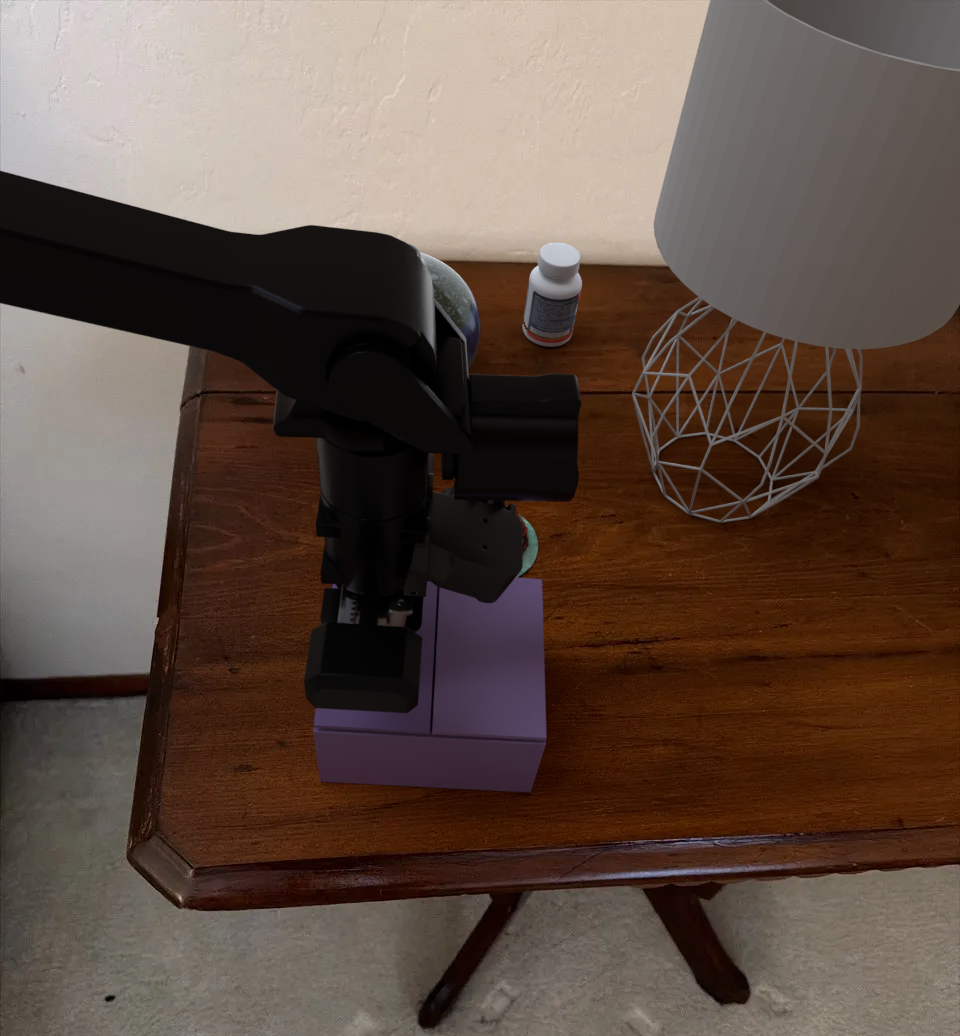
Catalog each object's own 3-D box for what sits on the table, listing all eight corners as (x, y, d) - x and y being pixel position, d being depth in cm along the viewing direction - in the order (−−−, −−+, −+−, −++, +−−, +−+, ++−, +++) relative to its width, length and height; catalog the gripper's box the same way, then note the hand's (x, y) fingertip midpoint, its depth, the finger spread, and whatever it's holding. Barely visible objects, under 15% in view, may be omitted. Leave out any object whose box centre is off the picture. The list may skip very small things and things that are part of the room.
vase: (316, 434, 83) (305, 310, 72) (316, 326, 92) (307, 200, 81) (482, 434, 85) (497, 312, 74) (467, 328, 94) (479, 205, 83)
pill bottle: (579, 345, 94) (595, 267, 86) (532, 351, 93) (544, 274, 85) (561, 313, 96) (575, 235, 89) (515, 319, 95) (525, 241, 88)
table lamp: (562, 406, 88) (668, -100, 55) (770, 383, 93) (981, -97, 60) (641, 587, 77) (834, 82, 44) (873, 550, 81) (1207, 68, 48)
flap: (313, 728, 58) (313, 725, 57) (335, 568, 65) (334, 565, 65) (429, 734, 58) (429, 731, 58) (437, 575, 66) (438, 572, 65)
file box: (319, 781, 64) (312, 725, 57) (338, 630, 72) (334, 564, 65) (530, 792, 65) (547, 738, 58) (528, 642, 73) (543, 578, 66)
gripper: (526, 635, 44) (494, 776, 57) (522, 376, 54) (496, 545, 67) (292, 620, 43) (313, 767, 56) (334, 361, 53) (344, 535, 66)
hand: (376, 643), depth 61 cm, fingers closed, pressing on flap
